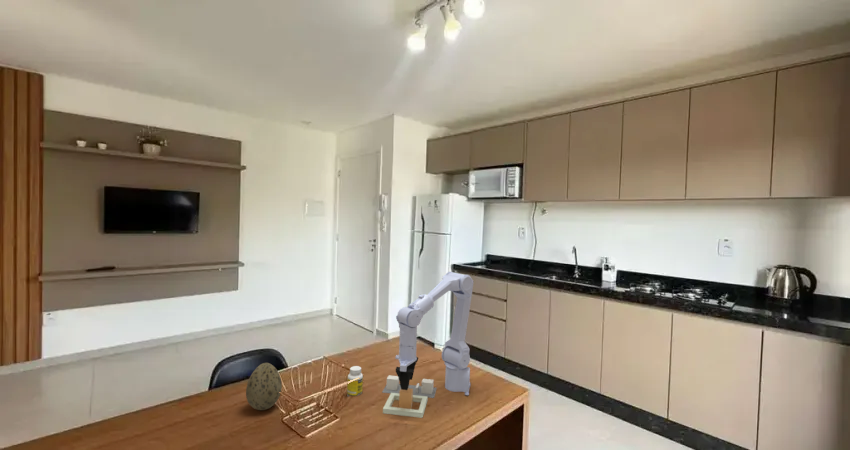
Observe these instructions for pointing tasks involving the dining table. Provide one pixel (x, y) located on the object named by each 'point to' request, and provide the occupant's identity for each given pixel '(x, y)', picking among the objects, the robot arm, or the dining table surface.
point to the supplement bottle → (355, 382)
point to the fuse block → (418, 390)
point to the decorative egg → (263, 387)
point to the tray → (404, 411)
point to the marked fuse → (406, 398)
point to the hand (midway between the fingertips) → (406, 384)
